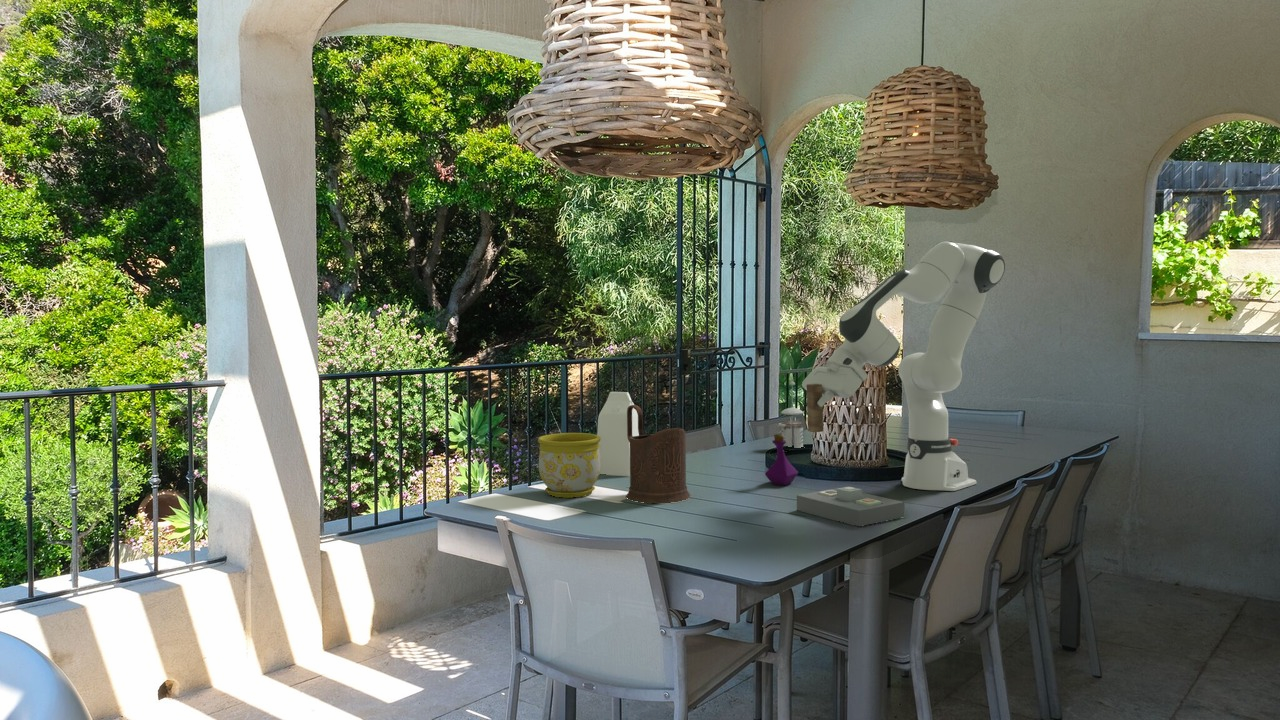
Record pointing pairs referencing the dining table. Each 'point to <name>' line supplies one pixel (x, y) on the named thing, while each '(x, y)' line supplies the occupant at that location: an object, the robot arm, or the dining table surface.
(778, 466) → the perfume bottle
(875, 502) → the key
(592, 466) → the flowerpot
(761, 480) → the dining table surface
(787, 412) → the french press
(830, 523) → the dining table surface
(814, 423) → the brown wooden bar
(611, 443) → the milk
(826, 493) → the key
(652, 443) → the cup holder
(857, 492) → the key mid
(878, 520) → the keypad
